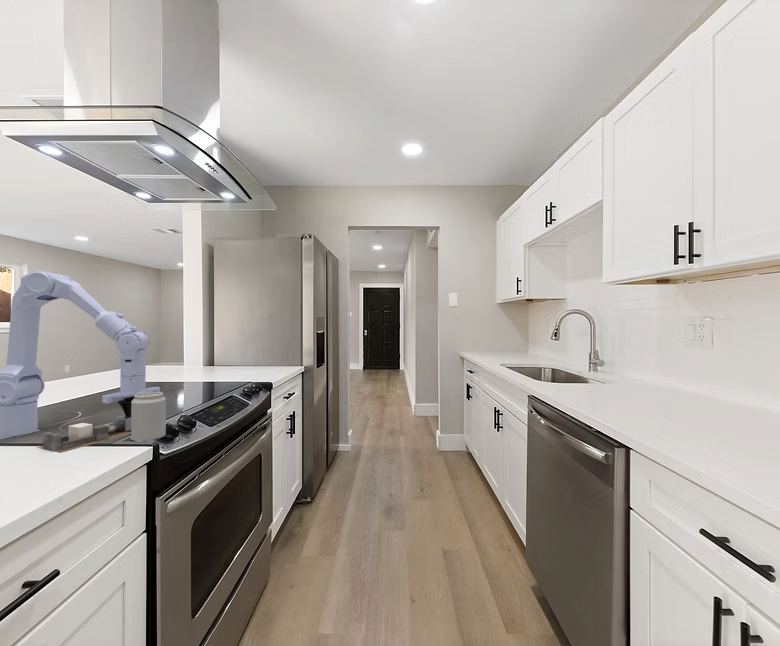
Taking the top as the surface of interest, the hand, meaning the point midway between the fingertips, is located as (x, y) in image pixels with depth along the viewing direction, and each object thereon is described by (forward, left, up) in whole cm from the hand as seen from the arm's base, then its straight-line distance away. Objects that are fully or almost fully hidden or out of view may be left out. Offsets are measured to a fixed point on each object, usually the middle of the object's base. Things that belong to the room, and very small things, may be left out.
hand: (132, 424), depth 103 cm
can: (+11, -3, -2) cm, 12 cm away
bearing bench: (0, -11, -2) cm, 11 cm away
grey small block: (0, -6, -1) cm, 6 cm away
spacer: (0, -13, -1) cm, 13 cm away
